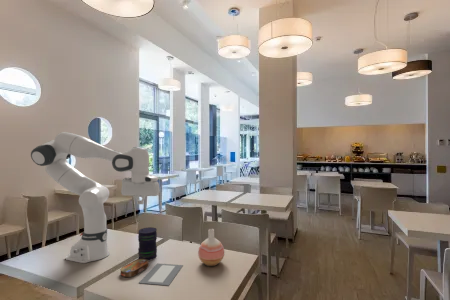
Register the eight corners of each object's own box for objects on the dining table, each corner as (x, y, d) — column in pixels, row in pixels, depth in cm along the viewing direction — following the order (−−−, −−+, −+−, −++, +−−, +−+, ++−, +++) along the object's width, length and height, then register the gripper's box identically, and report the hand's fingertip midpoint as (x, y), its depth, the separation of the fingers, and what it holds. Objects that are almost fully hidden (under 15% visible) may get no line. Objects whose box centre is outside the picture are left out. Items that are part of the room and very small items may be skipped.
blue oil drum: (156, 252, 142) (156, 226, 142) (157, 259, 133) (157, 231, 133) (138, 254, 139) (138, 228, 139) (137, 261, 130) (137, 233, 130)
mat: (138, 283, 108) (138, 282, 108) (157, 263, 127) (157, 263, 127) (168, 285, 106) (168, 285, 106) (182, 265, 125) (182, 265, 125)
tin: (129, 273, 112) (116, 268, 115) (129, 280, 112) (116, 275, 115) (152, 260, 125) (140, 256, 129) (151, 266, 125) (139, 262, 129)
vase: (229, 261, 130) (228, 228, 130) (216, 272, 118) (215, 235, 118) (207, 256, 136) (207, 224, 137) (193, 266, 124) (192, 231, 125)
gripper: (118, 178, 127) (118, 204, 127) (155, 178, 124) (155, 205, 124) (125, 177, 133) (125, 202, 133) (160, 177, 130) (160, 203, 130)
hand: (140, 204), depth 128 cm, fingers closed
